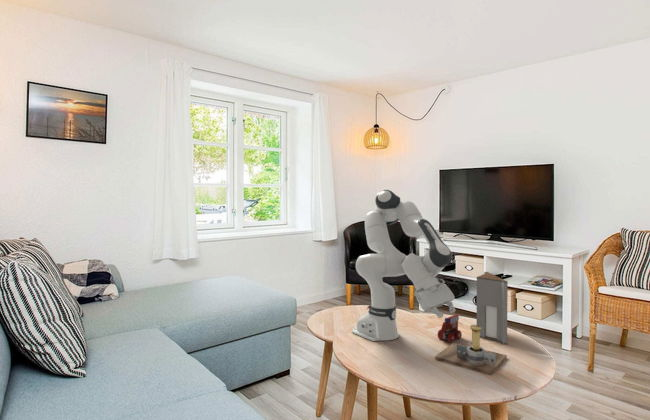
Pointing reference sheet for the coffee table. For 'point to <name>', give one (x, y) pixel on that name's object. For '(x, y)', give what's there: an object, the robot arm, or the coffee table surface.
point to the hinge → (476, 356)
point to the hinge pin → (475, 337)
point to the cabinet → (492, 307)
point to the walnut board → (451, 357)
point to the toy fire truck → (450, 329)
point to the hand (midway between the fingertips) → (447, 314)
